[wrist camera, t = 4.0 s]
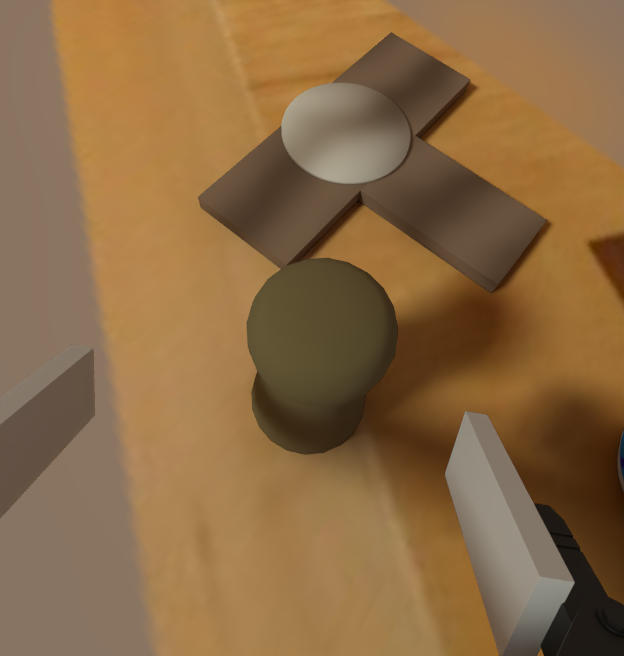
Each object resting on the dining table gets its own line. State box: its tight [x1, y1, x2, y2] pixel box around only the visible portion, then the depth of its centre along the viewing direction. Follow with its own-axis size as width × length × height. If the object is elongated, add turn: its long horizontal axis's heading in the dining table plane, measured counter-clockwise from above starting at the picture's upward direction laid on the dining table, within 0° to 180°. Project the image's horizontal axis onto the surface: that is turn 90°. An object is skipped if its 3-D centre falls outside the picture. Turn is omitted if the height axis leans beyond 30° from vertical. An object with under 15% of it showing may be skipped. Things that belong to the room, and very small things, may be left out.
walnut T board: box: [198, 33, 547, 293], centre depth 30 cm, size 18×20×1 cm
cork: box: [247, 258, 398, 454], centre depth 20 cm, size 6×6×11 cm
